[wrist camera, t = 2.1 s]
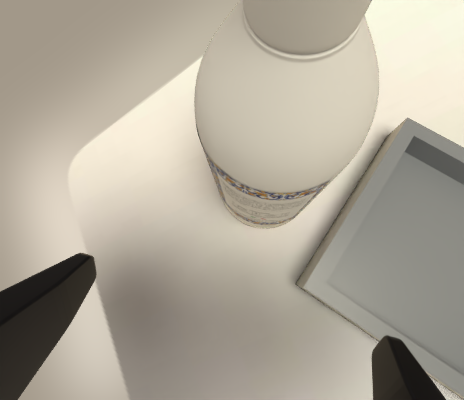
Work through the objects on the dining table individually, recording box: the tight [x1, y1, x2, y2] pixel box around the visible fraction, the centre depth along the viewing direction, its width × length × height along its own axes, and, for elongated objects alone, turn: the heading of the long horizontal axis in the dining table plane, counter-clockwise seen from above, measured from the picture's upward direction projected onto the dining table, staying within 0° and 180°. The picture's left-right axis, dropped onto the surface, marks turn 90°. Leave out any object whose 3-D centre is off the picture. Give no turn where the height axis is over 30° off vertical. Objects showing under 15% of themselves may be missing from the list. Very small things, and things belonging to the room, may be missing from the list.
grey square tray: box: [296, 118, 464, 400], centre depth 20 cm, size 14×14×3 cm
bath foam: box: [194, 0, 379, 228], centre depth 13 cm, size 7×7×20 cm
